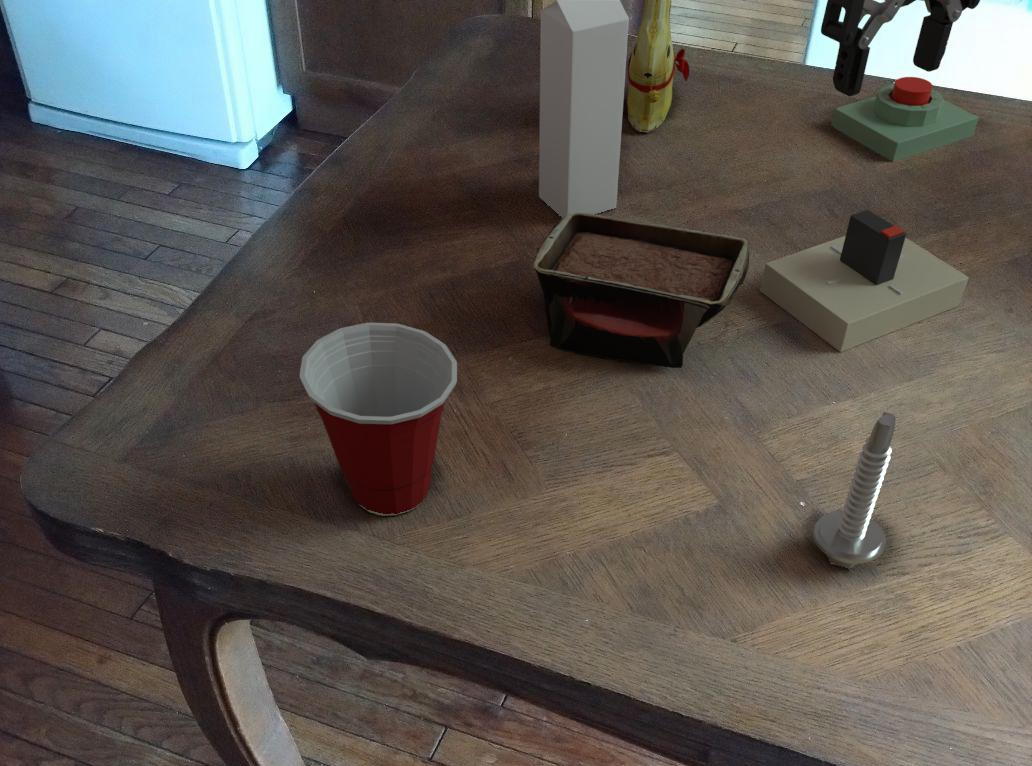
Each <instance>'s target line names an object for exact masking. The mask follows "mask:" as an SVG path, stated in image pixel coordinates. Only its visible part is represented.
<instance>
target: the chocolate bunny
mask: <svg viewBox="0 0 1032 766" xmlns="http://www.w3.org/2000/svg"><path fill="white" fill-rule="evenodd" d="M643 5H644V7H643V16H642V20H641V22H640V25H639V29H638V32H637V35H636V37H635V41H634V44H633V47H632V49H631V52H630V54H629V58H628V62H627V79H628V82H627V83H628V86H627V87H628V89H627V91H628V94H627V101H626V105H627V114H628V116H627V120H628V122H629V124H630V126H631V125H632V126H633V127H635V128H637V129H638V130H642V131H650V130H652V129H656V128H658V127H659V128H660V127H661V126H662V125H663V123H664V122H665V119H666V117H667V115H668V112H669V110H670V108H671V105H672V99H673V85H674V83H673V82H674V74H675V70H676V69H677V71H678V72H679V73H681V74H682V76H683V79H684V81H685V82H688V79H689V77H690V65H689V63H688V61H687V59H685V55H686V50H685V48H681V49H679V50H678V51H677V53H675V49H674V47H673V40H672V32H671V31H672V30H671V9H672V0H644V4H643ZM632 126H631V127H632ZM633 127H632V128H633ZM659 128H658V129H659ZM656 130H657V129H656Z"/></svg>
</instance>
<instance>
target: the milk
mask: <svg viewBox="0 0 1032 766" xmlns="http://www.w3.org/2000/svg"><path fill="white" fill-rule="evenodd" d="M629 22H630V17H629V16H628V14H627V12H626V10H625V8H624V6H623V4H622V3H621V0H555V1H553V2H551V3H550V4H548V5H547V6H544V7H543V8H541V9H540V39H539V40H540V41H539V42H540V45H539V46H540V48H539V49H540V50H539V57H540V58H539V145H538V146H539V150H538V151H539V152H538V153H539V154H538V155H539V156H538V157H539V159H538V162H539V163H538V166H539V167H538V198H539V197H540V198H541V199H542V200H543V201H544V202H545V203H546V204H547V205H546V204H545V203H544V202H543V201H542V200H541V199H540V198H539V199H540V200H541V201H542V202H543V203H544V204H545V205H546V206H547V207H549V206H550V207H551V208H552V209H553V210H554V211H555V212H556V213H557V214H559V215H558V217H560V216H561V217H562V218H564V217H566V216H568V215H569V214H573V213H576V212H577V213H589V214H596V215H599V214H602V213H601V212H603V213H606V212H608V211H607V210H610V211H612V210H611V209H613V210H615V209H614V208H616V209H617V204H618V203H617V201H618V187H619V186H618V185H619V173H620V171H619V170H620V159H621V158H620V156H621V144H622V142H621V141H622V127H623V126H622V125H623V112H624V99H625V98H624V97H625V85H626V68H627V67H626V66H627V52H628V38H629V24H630V23H629ZM550 207H549V208H550ZM551 208H550V209H551ZM552 209H551V210H552ZM553 210H552V211H553ZM554 211H553V212H554ZM605 211H606V212H605ZM555 212H554V213H555ZM556 213H555V214H556ZM598 213H599V214H598ZM557 214H556V215H557ZM561 217H560V218H561ZM562 218H561V219H562Z"/></svg>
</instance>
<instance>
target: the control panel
mask: <svg viewBox="0 0 1032 766" xmlns="http://www.w3.org/2000/svg"><path fill="white" fill-rule="evenodd" d="M845 236H846V235H844V236H840V237H837V238H835V239H831V240H829V241H825V242H823V243H821V244H817V245H815V246H811V247H809V248H806V249H802V250H800V251H797V252H795V253H791V254H789V255H785V256H782V257H780V258H777V259H774V260H771V261H769V262H766V263H765V264H764V269H763V275H762V278H761V279H762V280H761V284H760V285H761V286H760V293H762V294H763V295H764V296H766V297H767V298H768V299H769V300H771V301H773V302H774V303H775V304H776V305H777V306H779V307H780V308H781V309H782V310H784V311H785V312H787V313H788V314H789V315H790V316H792V317H793V318H795V319H796V320H797V321H799V322H800V323H801V324H802V325H804V326H805V327H806V328H807V329H809V330H811V331H812V332H813V333H814V334H816V335H817V336H818V337H820V338H821V339H822V340H824V341H825V342H826V343H828V344H829V345H830V346H831V347H833V348H834V349H835V350H836V351H838V352H839V353H842V352H844V351H845V352H846V351H847V350H850V349H852V348H856V347H858V346H860V345H863V344H865V343H867V342H870V341H872V340H876V339H878V338H880V337H884V336H886V335H888V334H891V333H893V332H896V331H898V330H901V329H904V328H906V327H909V326H911V325H915V324H916V323H918V322H921V321H925V320H927V319H929V318H931V317H934V316H937V315H939V314H942V313H944V312H946V311H947V312H948V311H949V310H952V309H954V308H958V307H959V306H960V304H961V301H962V299H963V296H964V293H965V290H966V287H967V285H968V281H969V280H970V279H969V276H967V275H966V274H965V273H962V272H961V271H959V270H958V269H956V268H955V267H953V266H951V265H949V264H948V263H947V262H945V261H943V260H942V259H940V258H938V257H937V256H935V255H934V254H932V253H931V252H929V251H928V250H926V249H924V248H923V247H921V246H919V245H918V244H916V243H915V242H913V241H912V240H910V239H909V238H907V237H905V241H904V244H903V248H902V251H901V255H900V258H899V262H898V265H897V268H896V272H895V275H894V279H892V280H889V281H887V282H884V283H881V284H879V285H875V284H874V283H872V282H871V281H869V280H868V279H867V278H865V277H864V276H862V275H861V274H859V273H858V272H856V271H855V270H853V269H852V268H850V267H849V266H848V265H846V264H845V263H843V262H842V261H840V257H841V253H842V249H843V245H844V241H845Z"/></svg>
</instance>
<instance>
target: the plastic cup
mask: <svg viewBox="0 0 1032 766" xmlns="http://www.w3.org/2000/svg"><path fill="white" fill-rule="evenodd" d="M299 380H300V381H301V383H302V385H303V387H304V389H305V392H306V393H307V395H308V398H309V400H311V402H313V403H314V405H315V407H316V410H317V413H318V415H319V417H320V418H321V422H322V423H323V426H324V429H325V431H326V434H327V436H328V440H329V441H330V444H331V447H332V449H333V452H334V456H335V458H336V460H337V463H338V466H339V468H340V470H341V472H342V474H343V476H344V478H345V481H346V482H347V486H348V488H349V491H350V493H351V495H352V497H353V499H354V501H355V502H356V503H357V502H358V503H359V504H360V505H362V506H363V507H365V508H366V509H367V510H371V511H374V512H378V513H383V514H391V513H394V514H398V513H400V512H404V511H407V510H410V509H412V508H414V507H416V506H417V505H418V504H420V503H421V502H422V501H423V499H424V498H425V499H426V497H427V496H428V491H429V490H430V488H431V487H430V486H431V478H432V477H431V476H432V470H433V469H432V467H433V465H434V464H435V457H436V451H437V443H438V438H439V432H440V425H441V417H442V413H443V411H444V407H445V403H446V401H447V400H448V397H449V396H450V394H451V393H452V392H453V390H454V388H455V387H456V385H457V383H458V362H457V360H456V358H455V356H454V355H453V354H452V352H451V350H450V349H449V348H448V346H447V344H445V343H444V342H442V341H440V340H439V339H438V338H436V337H435V336H433V335H431V334H430V333H428V332H427V331H425V330H422V329H420V328H419V329H418V328H415V327H411V326H408V325H405V324H401V323H394V322H393V323H390V322H365V323H360V324H354V325H350V326H349V325H348V326H344V327H340V328H338V329H336V330H334V331H332V332H330V333H328V334H326V335H324V336H322V337H319V338H318V339H317V340H316V341H314V343H313V344H312V345H311V347H310V348H309V349H308V350H307V351H306V352H305V354H304V355H303V356H302V358H301V364H300V369H299ZM426 495H427V496H426ZM425 496H426V497H425ZM425 499H424V500H425ZM423 502H424V501H423ZM423 502H422V503H423ZM358 503H357V504H358ZM416 508H417V507H416Z"/></svg>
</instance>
